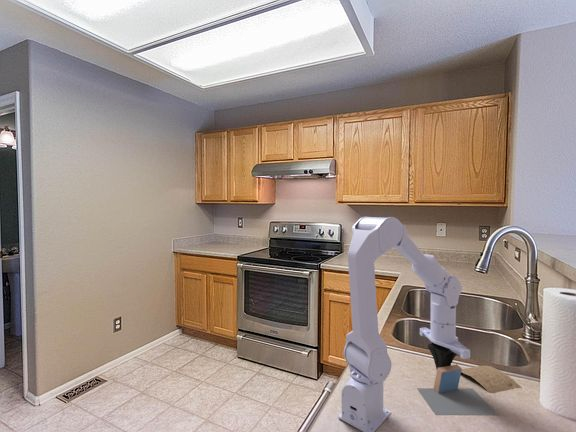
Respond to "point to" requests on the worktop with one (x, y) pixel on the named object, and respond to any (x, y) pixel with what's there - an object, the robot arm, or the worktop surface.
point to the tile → (447, 378)
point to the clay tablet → (491, 378)
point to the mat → (456, 402)
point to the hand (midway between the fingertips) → (442, 374)
